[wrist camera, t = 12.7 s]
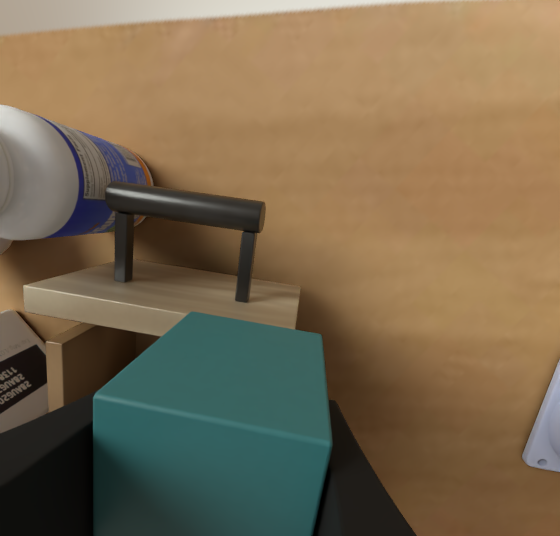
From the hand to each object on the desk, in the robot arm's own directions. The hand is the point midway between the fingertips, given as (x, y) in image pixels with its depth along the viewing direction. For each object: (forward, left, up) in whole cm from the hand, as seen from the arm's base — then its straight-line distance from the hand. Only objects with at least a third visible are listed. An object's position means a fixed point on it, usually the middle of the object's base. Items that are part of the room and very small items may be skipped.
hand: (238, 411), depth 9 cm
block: (0, 0, -1) cm, 1 cm away
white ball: (+21, -3, -11) cm, 24 cm away
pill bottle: (+11, -6, -11) cm, 17 cm away
